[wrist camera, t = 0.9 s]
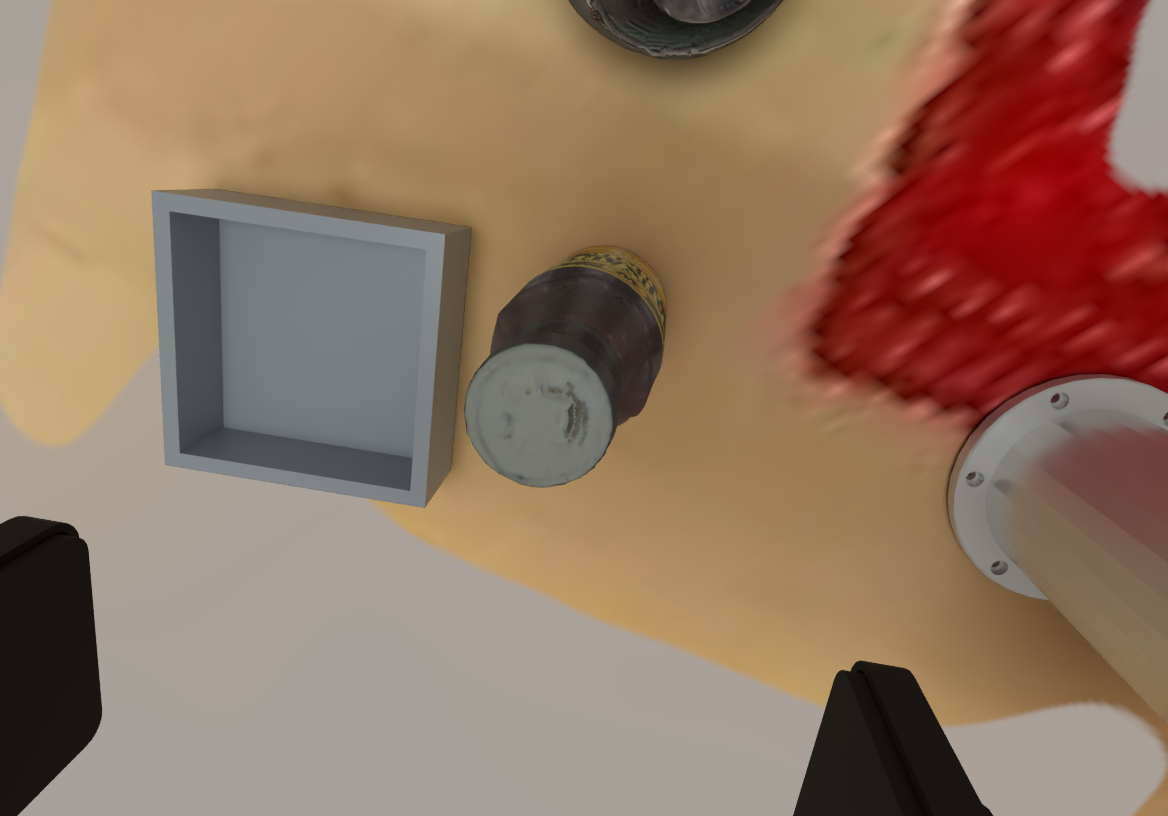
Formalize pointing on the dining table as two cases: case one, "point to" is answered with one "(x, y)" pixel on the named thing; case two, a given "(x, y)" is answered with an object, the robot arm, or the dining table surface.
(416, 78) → the dining table surface
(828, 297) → the dining table surface
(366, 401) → the box
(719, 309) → the dining table surface
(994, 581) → the robot arm
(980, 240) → the dining table surface
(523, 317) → the sauce bottle
